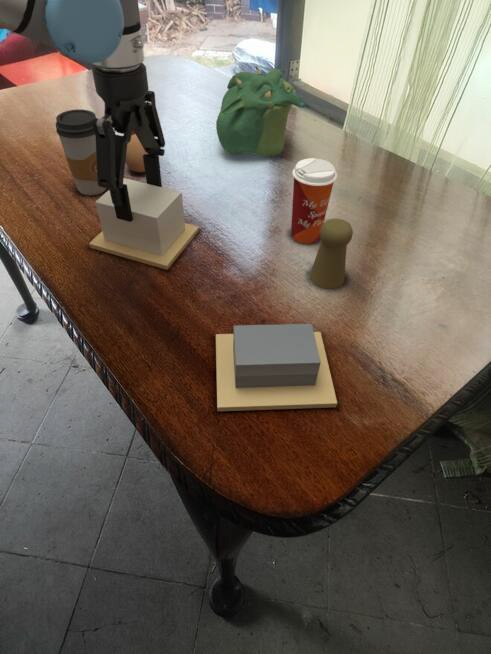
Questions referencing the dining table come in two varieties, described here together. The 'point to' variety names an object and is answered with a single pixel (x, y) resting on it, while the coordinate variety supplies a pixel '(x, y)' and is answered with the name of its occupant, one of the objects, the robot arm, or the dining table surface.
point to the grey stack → (272, 368)
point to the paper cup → (311, 198)
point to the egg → (135, 155)
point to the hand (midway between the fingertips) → (140, 204)
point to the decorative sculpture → (255, 113)
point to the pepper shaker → (331, 254)
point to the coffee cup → (80, 148)
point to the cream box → (146, 241)
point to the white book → (144, 205)
